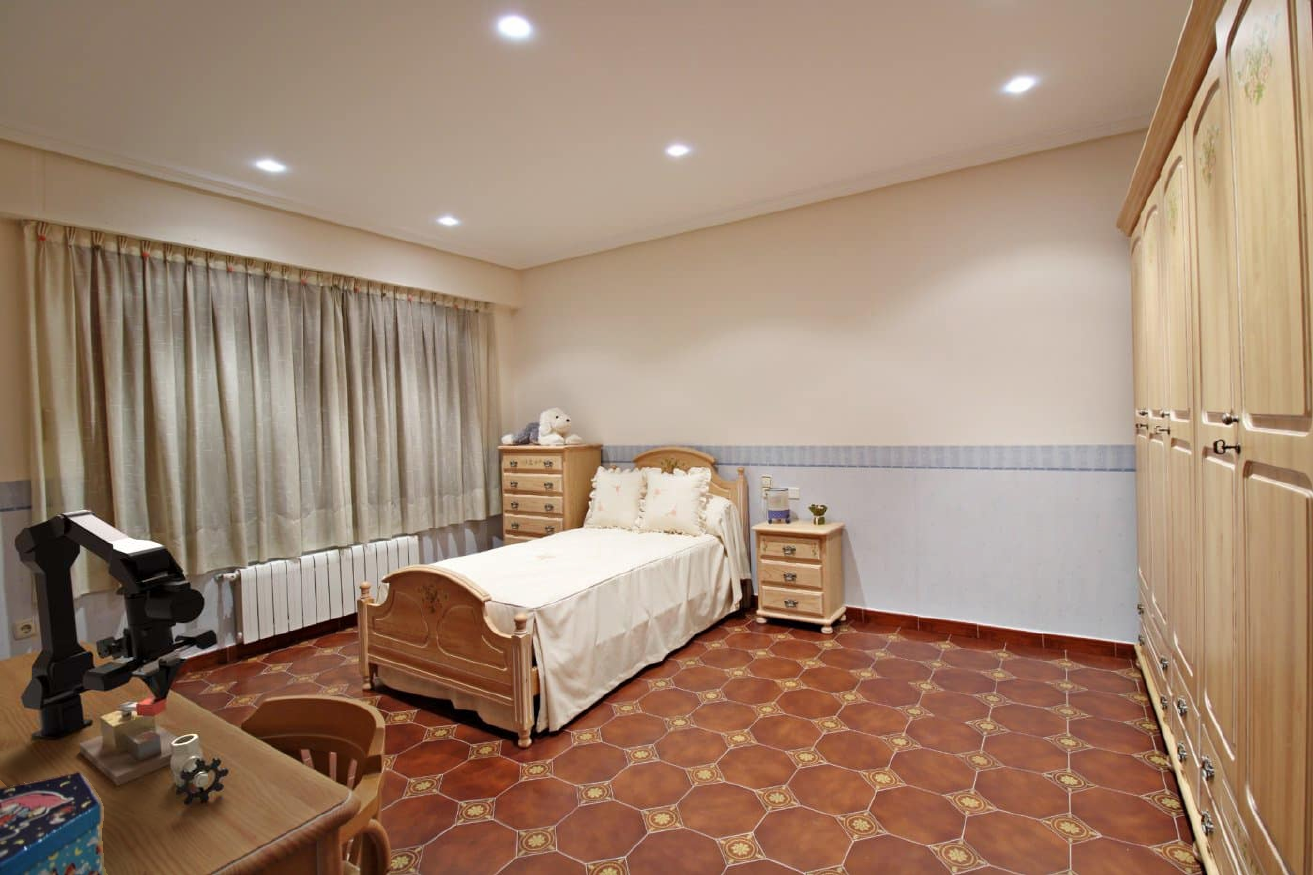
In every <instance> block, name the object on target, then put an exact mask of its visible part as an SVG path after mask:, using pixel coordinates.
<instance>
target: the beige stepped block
mask: <svg viewBox="0 0 1313 875" xmlns="http://www.w3.org/2000/svg"><path fill="white" fill-rule="evenodd" d="M155 719H156V718H155V716H138V715H137V711H119V709H118V710H116V711H113V712H110V713H107V714H104V715H102V716H100V717H99V720H100V729H101V735H102V739H103V745H104V746H106V747H107V748H108V749H109V750H111V751H112V752H113V753H114V754H116V755H118V754H121V753H124V752H126V751H127V752H128V753H129V754H131V755H132V756H133V757H134V758H136V759H137V760H138V761H142V760H145V759H147V758H150V757H152V756H154V755H157V754H159V753H162V751H161V741H160V735H159V734H157V733H156V727H155V723H156V720H155Z"/></svg>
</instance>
